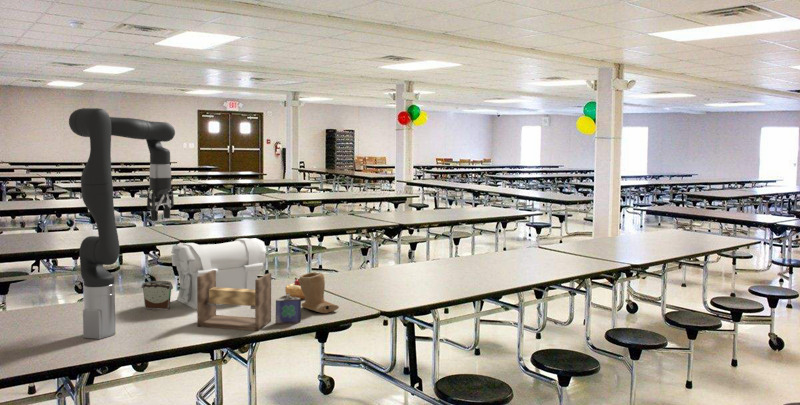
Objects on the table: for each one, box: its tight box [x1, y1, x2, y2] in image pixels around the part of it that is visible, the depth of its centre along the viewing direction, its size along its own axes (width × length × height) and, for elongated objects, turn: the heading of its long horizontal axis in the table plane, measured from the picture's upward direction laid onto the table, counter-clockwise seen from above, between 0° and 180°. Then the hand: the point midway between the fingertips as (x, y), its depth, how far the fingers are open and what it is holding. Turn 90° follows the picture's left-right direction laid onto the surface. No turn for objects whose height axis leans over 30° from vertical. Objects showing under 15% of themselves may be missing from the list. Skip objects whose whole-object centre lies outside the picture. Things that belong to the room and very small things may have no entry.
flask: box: [275, 293, 302, 325], centre depth 223 cm, size 9×3×11 cm, turn 109°
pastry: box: [284, 278, 305, 300], centre depth 262 cm, size 12×12×9 cm
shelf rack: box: [196, 270, 272, 332], centre depth 219 cm, size 12×23×18 cm, turn 81°
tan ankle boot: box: [298, 271, 340, 314], centre depth 241 cm, size 15×12×15 cm
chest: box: [170, 237, 267, 310], centre depth 253 cm, size 35×23×25 cm, turn 132°
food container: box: [140, 280, 174, 311], centre depth 240 cm, size 12×6×10 cm, turn 84°
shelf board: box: [209, 287, 255, 307], centre depth 219 cm, size 18×4×5 cm, turn 81°
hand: (160, 219), depth 228 cm, fingers open, 8 cm apart
